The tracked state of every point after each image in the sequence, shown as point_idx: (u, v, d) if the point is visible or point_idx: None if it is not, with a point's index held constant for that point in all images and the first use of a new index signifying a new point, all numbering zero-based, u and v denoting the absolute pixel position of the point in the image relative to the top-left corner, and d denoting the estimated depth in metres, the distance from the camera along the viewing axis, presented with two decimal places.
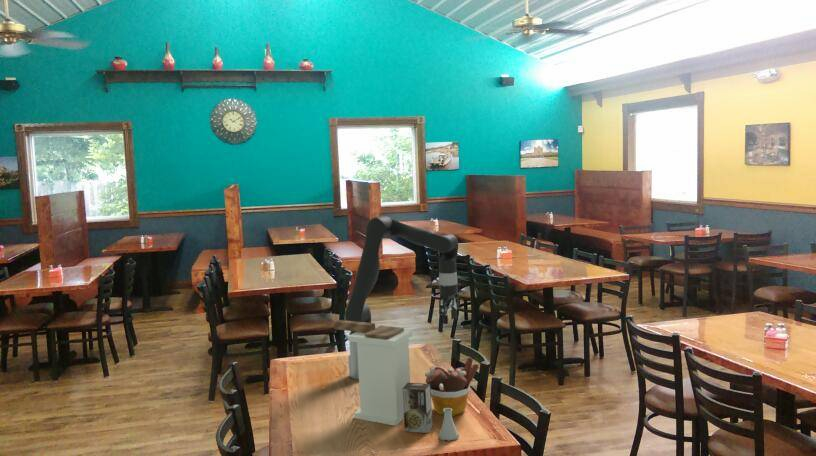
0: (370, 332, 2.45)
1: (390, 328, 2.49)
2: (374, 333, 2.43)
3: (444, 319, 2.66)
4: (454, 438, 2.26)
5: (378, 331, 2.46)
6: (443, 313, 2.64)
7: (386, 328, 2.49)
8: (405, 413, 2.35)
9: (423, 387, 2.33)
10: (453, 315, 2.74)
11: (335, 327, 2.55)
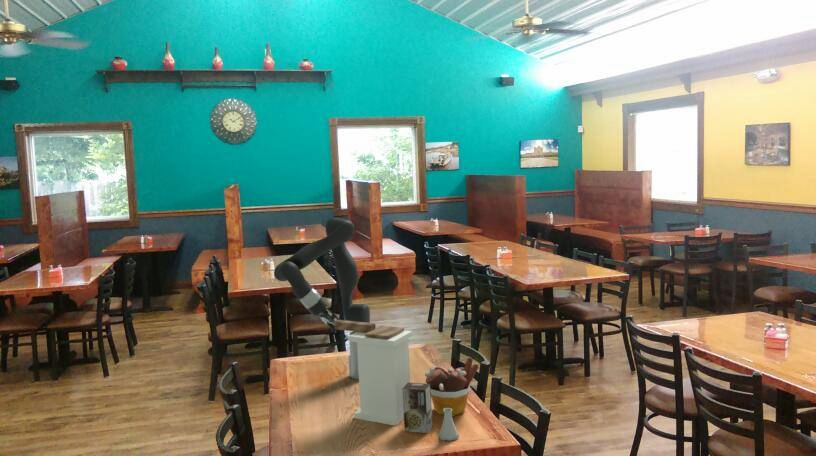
0: (371, 332, 2.45)
1: (390, 328, 2.49)
2: (374, 333, 2.43)
3: None
4: (454, 438, 2.26)
5: (378, 331, 2.46)
6: None
7: (387, 329, 2.48)
8: (405, 413, 2.35)
9: (423, 387, 2.33)
10: (333, 327, 2.68)
11: (335, 327, 2.55)
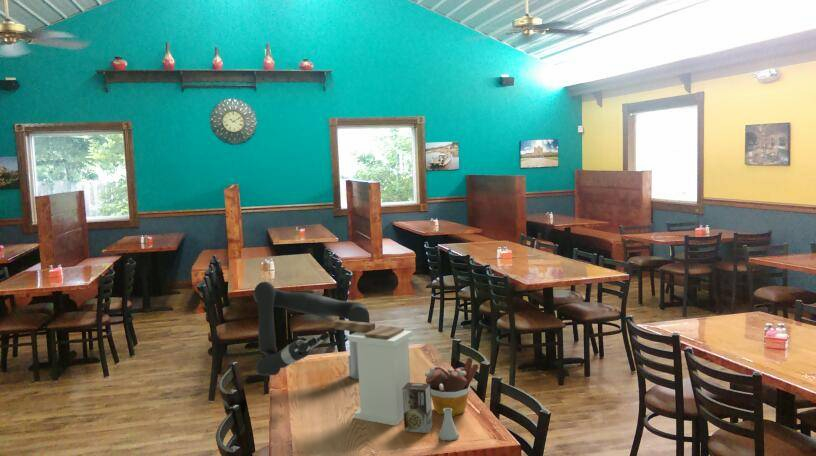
0: (370, 332, 2.45)
1: (390, 328, 2.49)
2: (374, 333, 2.43)
3: (310, 342, 2.57)
4: (454, 438, 2.26)
5: (378, 331, 2.46)
6: (302, 344, 2.57)
7: (386, 328, 2.49)
8: (405, 413, 2.35)
9: (423, 387, 2.33)
10: (325, 335, 2.65)
11: (335, 327, 2.55)
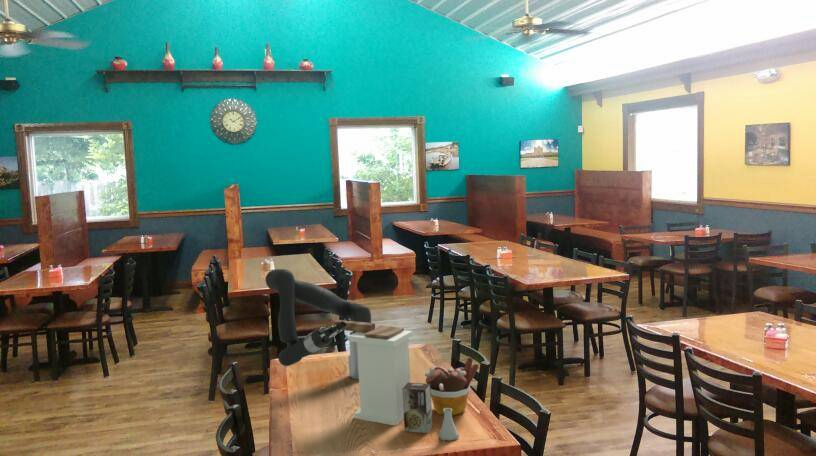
0: (370, 332, 2.45)
1: (390, 328, 2.49)
2: (374, 333, 2.43)
3: (339, 325, 2.52)
4: (454, 438, 2.26)
5: (378, 331, 2.46)
6: (331, 328, 2.52)
7: (386, 328, 2.49)
8: (405, 413, 2.35)
9: (423, 387, 2.33)
10: None
11: None
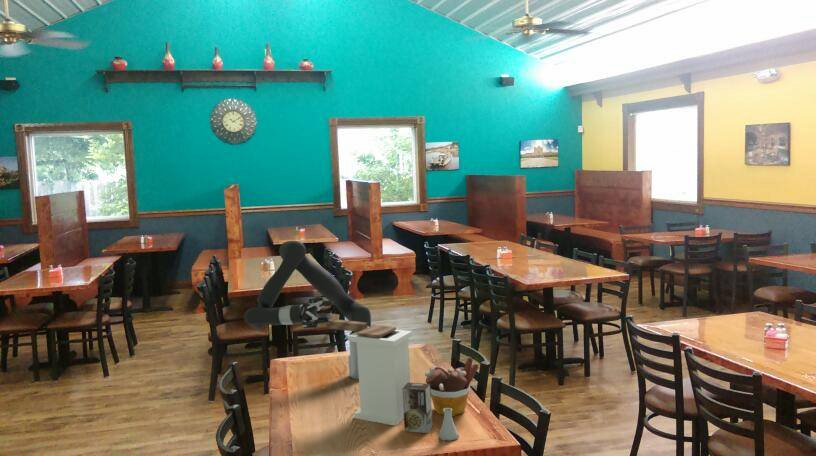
0: (362, 331, 2.47)
1: (382, 327, 2.51)
2: (366, 332, 2.45)
3: (322, 321, 2.55)
4: (454, 438, 2.26)
5: (370, 330, 2.48)
6: (313, 324, 2.55)
7: (379, 328, 2.50)
8: (405, 413, 2.35)
9: (423, 387, 2.33)
10: (329, 304, 2.63)
11: (328, 326, 2.57)
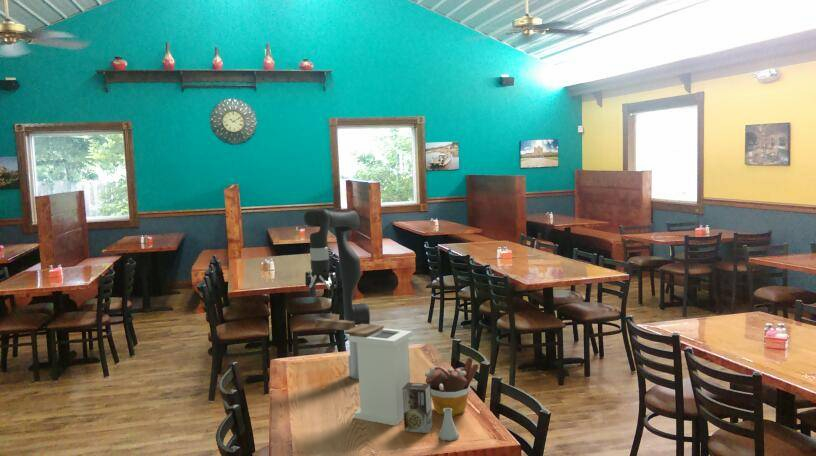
0: (350, 329, 2.50)
1: (370, 326, 2.53)
2: (354, 331, 2.47)
3: None
4: (454, 438, 2.26)
5: (358, 329, 2.50)
6: (306, 284, 2.71)
7: (366, 326, 2.53)
8: (405, 413, 2.35)
9: (423, 387, 2.33)
10: None
11: (316, 325, 2.59)
